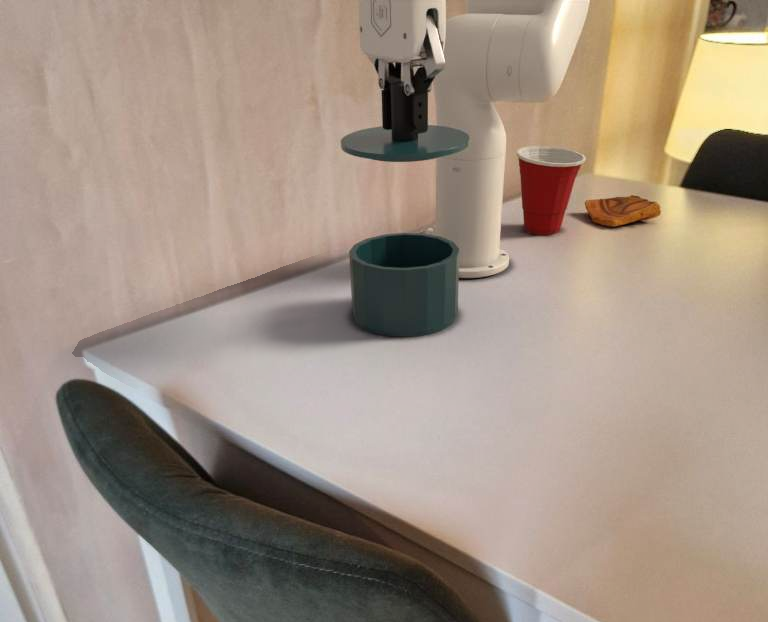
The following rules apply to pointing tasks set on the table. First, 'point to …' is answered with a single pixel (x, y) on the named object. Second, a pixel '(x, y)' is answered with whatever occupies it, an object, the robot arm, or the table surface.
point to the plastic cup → (546, 186)
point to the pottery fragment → (621, 210)
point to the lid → (403, 138)
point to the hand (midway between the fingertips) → (405, 129)
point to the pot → (404, 284)
